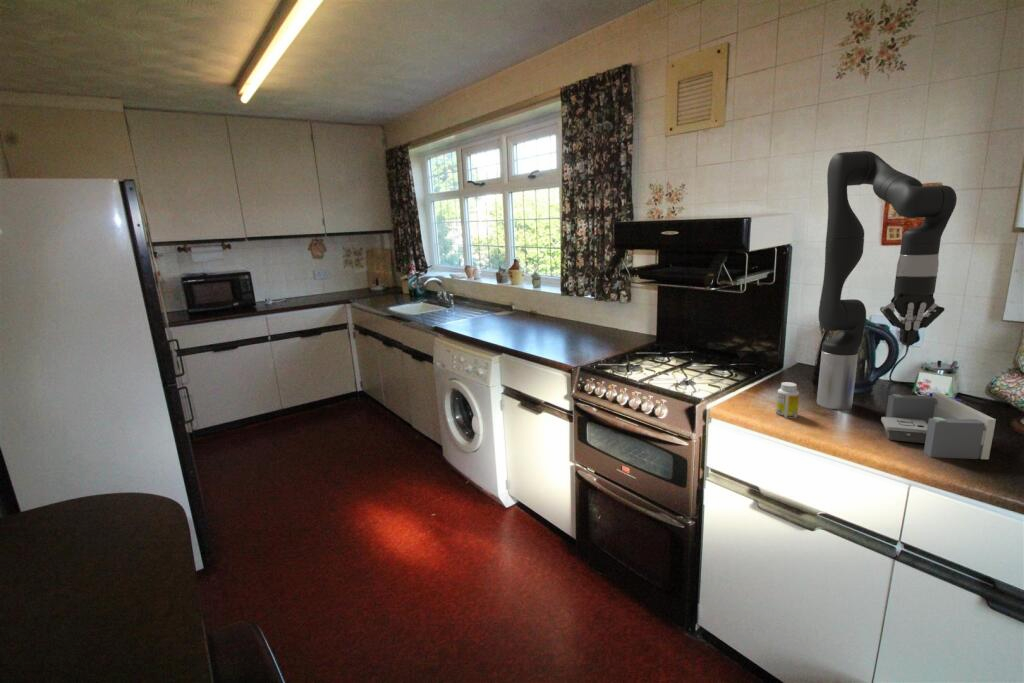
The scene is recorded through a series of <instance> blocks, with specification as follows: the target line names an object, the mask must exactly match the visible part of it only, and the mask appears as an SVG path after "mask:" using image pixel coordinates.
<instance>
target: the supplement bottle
mask: <svg viewBox="0 0 1024 683" xmlns="http://www.w3.org/2000/svg"><path fill="white" fill-rule="evenodd" d="M797 388H798V386H797V384H796V383H795V382H790V381H785V382H783V381H782V382H781V384H780V388H779V389H777V394H776V395H777V396H776V411H775V414H776V415H777V416H779V417H780V418H781V417H782V418H786V419H794V418H797V417H798V413H799V412H798V411H799V401H800V400H799V398H800V391H799V390H797Z"/></svg>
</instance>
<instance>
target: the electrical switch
mask: <svg viewBox="0 0 1024 683" xmlns="http://www.w3.org/2000/svg"><path fill="white" fill-rule="evenodd" d="M880 421H881V423H882V424H883V427H884V432H885V435H886V437H887V438H888V439H887V440H890V441H899V442H909V443H919V444H925V440H926V434H927V427H928V424H927V423H926V421H924V420H918V419H906V418H893V417H886V416H881V419H880Z"/></svg>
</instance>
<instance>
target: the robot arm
mask: <svg viewBox="0 0 1024 683" xmlns="http://www.w3.org/2000/svg"><path fill="white" fill-rule="evenodd" d="M826 174H827V175H826V176H827V178H826V180H827V181H826V182H827V208H828V209H827V224H826V225H827V226H826V235H825V236H826V238H825V248H824V249H825V250H824V251H825V253H824V254H825V256H824V272H823V281H822V286H821V287H822V288H821V293H820V300H819V306H818V322H819V326H820V328H822V329H823V330H824V331H827V332H828V331H829V332H832V331H833V332H834V331H837V334H836V335H834V336H833V337H831V338H828V339H826V340H824V341H823V342H822V344H821V354H820V355H821V356H820V365H819V374H818V386H817V395H816V404H817V405H818V406H821V407H823V408H826V409H830V410H831V409H832V410H838V411H843V410H844V411H847V410H850V409H852V407H853V400H854V399H853V398H854V392H855V383H856V375H857V366H858V356H859V349H860V348H861V345H862V344H863V338H864V332H865V326H866V321H867V308H866V306H865V304H864V303H863V302H862V300H859V299H855V298H854V299H851V298H850V299H848V298H847V299H842V293H843V292H842V291H843V288H844V285H845V282H846V281H847V280H848V278H849V276H850V274H851V273H852V272H853V270H854V269H855V268H856V266H857V265H858V264H859V262H860V261H861V259H862V257H863V253H864V248H865V247H864V246H865V229H864V226H863V225H862V222H861V221H860V220H859V218H858V216H857V215H856V214H855V212H854V211H853V208H852V207H851V205H850V202H849V197H848V187H849V186H861V185H870V186H872V190H873V193H874V194H875V196H877V197H878V198H879V199H881V200H883V201H884V202H886V203H888V204H890V205H891V207H892V208H893V210H894V211H895V212H896V214H897V215H898V216H900V217H902V218H907V219H923V221H922V223H921V225H920V226H918V227H915V228H911V229H907V230H906V231H904V232H903V234H902V236H901V243H900V244H901V245H900V251H899V257H898V261H897V264H896V272H895V278H894V279H895V281H894V287H893V297H892V298H891V300H890V303H889V304H887V305H885V306H881V307H880V308H879V311H880V312H881V314H882V315H883V316H884V317H885V318H886V319H887V321H888V322H889V323H890V324H891V326H893V327H896V328H898V329H900V331H899V339H898V340H899V342H900V344H901V345H902V346H903V345H904V346H913V345H914V344H915V343H916V341H917V336H918V330H920V329H923V328H925V329H926V328H928V326H930V325H931V324H932V323H933V322H934V321H935V320H936V319H937V318H938V317H939V316H940V315H942V313H944V311H945V309H946V308H945V307H943V306H940V305H938V304H937V303H935V298H934V294H935V291H936V285H937V278H938V272H939V265H940V264H939V262H940V261H939V253H940V247H941V241H942V240H941V239H942V236H943V233H944V232H945V230H946V227H947V225H948V223H949V221H950V219H951V216H952V215H953V212H954V210H955V208H956V205H957V198H958V197H957V193H956V191H955V190H954V188H952V187H951V186H949V185H927V186H924V185H923V183H922V182H921V181H920V180H918V179H917V178H915V177H913V176H911V175H908V174H906V173H904V172H901V171H899V170H897V169H896V168H894V167H892V166H891V165H890V164H889V163H887V162H886V161H885V160H884V159H883V158H882V157H880V156H879V155H878V154H876V153H875V152H872V151H868V150H858V151H857V150H856V151H844V152H837V153H835V154H834V155H833V156H832V157H831V159H830V160H829V162H828V167H827V173H826ZM895 311H896V313H897V314H898V317H897V315H896V314H895Z"/></svg>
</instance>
